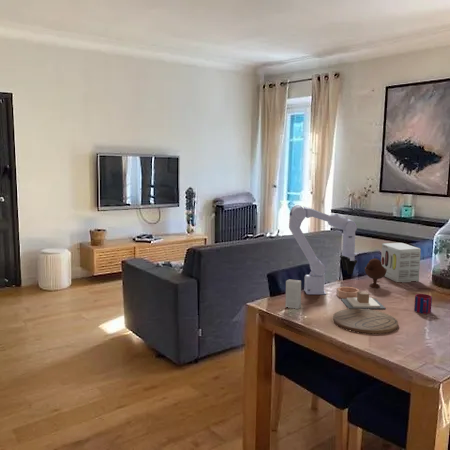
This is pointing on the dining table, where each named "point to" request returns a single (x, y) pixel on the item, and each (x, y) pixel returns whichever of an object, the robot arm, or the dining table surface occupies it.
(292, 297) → the skincare box
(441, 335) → the dining table surface
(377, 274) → the ice cream bowl
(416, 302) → the mug
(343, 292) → the bowl
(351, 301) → the cover
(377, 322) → the trivet
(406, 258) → the supplement box
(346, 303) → the mat
